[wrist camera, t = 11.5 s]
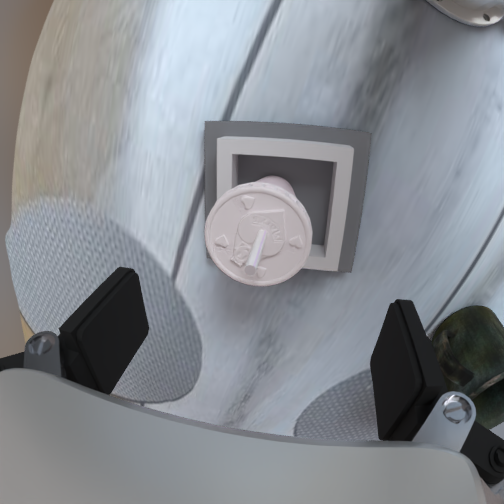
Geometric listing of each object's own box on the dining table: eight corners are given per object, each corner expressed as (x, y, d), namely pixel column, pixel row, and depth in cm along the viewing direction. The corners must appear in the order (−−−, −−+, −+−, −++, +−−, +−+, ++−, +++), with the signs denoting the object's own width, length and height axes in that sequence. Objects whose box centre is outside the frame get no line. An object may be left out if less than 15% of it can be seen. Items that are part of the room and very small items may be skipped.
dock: (368, 132, 23) (378, 135, 20) (349, 266, 29) (354, 286, 26) (208, 121, 25) (195, 122, 22) (210, 252, 31) (198, 270, 28)
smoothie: (325, 193, 25) (344, 275, 13) (277, 244, 28) (253, 352, 16) (267, 144, 24) (228, 178, 12) (222, 199, 27) (153, 278, 15)
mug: (457, 374, 33) (480, 440, 23) (390, 341, 32) (410, 423, 22) (509, 319, 28) (548, 382, 18) (451, 271, 27) (500, 344, 17)
